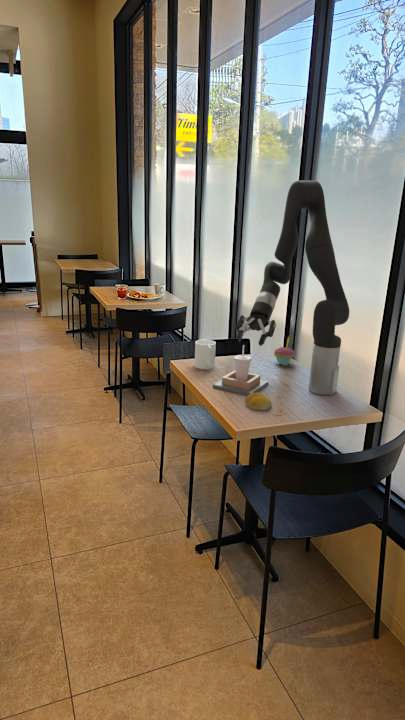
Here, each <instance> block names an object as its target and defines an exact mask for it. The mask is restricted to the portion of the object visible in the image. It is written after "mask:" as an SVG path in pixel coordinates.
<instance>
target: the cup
mask: <svg viewBox="0 0 405 720" xmlns="http://www.w3.org/2000/svg"><path fill="white" fill-rule="evenodd" d="M194 343H195V345H194V346H195V347H194V348H195V349H194V367H195V368H196V369H199V370H200V369H201V370H212V369H214V368H215V367H216V347H217V346H216V345H217V344H216V341H214V340H210V339H198V340H196V341H195V342H194Z"/></svg>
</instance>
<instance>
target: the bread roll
mask: <svg viewBox="0 0 405 720" xmlns="http://www.w3.org/2000/svg"><path fill="white" fill-rule="evenodd" d="M244 402H245V404H246V406H247V407H248V408H250V409H251V410H254V411H267V410H269V409H270V408H271V407H272V399H270V398H269V397H268V396H266V395H265V394H264V393H262V392H261V393H260V392H257V393H251V394H250V395H248V396H246V397H245V398H244Z"/></svg>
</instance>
